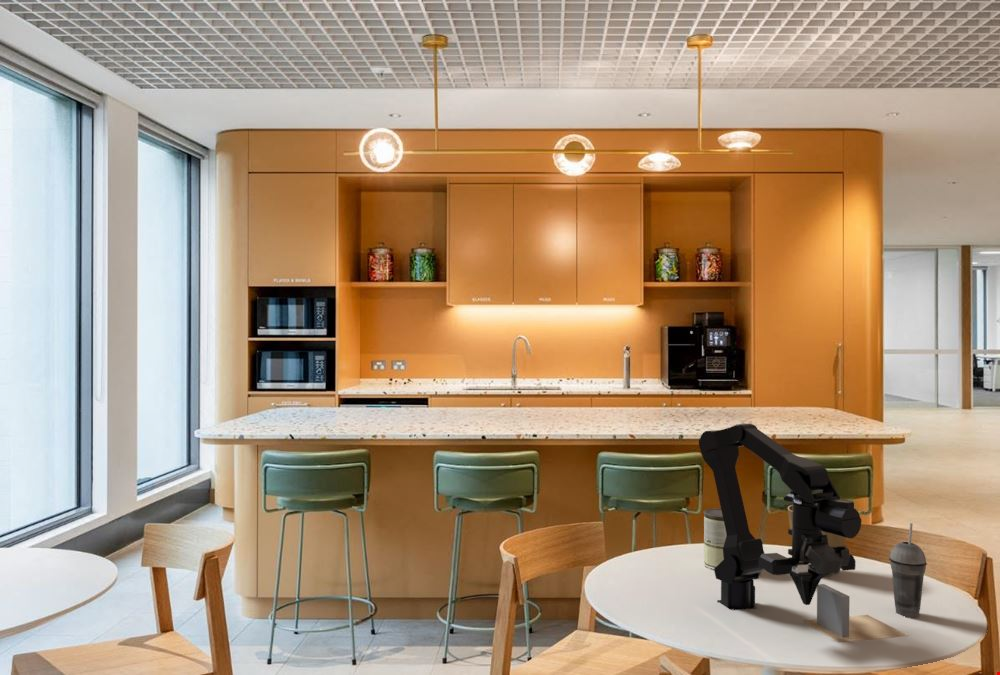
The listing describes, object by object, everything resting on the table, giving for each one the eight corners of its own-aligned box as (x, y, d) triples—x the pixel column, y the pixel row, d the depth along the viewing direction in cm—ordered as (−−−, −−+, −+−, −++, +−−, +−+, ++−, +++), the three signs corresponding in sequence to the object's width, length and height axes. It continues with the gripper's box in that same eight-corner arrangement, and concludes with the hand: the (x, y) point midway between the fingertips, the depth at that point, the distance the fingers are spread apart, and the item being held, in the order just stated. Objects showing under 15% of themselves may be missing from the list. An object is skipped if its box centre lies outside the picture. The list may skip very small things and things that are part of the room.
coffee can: (710, 558, 214) (710, 506, 214) (748, 564, 208) (749, 511, 208) (697, 567, 205) (698, 513, 205) (737, 574, 200) (738, 518, 200)
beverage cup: (914, 608, 176) (915, 518, 176) (933, 620, 168) (934, 526, 168) (882, 608, 175) (883, 518, 175) (899, 620, 168) (900, 526, 168)
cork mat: (838, 645, 154) (838, 642, 154) (801, 623, 166) (801, 620, 166) (908, 638, 158) (908, 635, 158) (867, 617, 170) (867, 614, 170)
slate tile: (842, 637, 157) (842, 596, 157) (816, 623, 164) (817, 584, 164) (849, 636, 157) (850, 596, 157) (824, 622, 165) (824, 583, 165)
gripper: (789, 539, 149) (788, 622, 149) (875, 534, 154) (874, 614, 154) (757, 525, 160) (756, 602, 160) (837, 521, 164) (836, 596, 165)
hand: (806, 604), depth 159 cm, fingers closed
